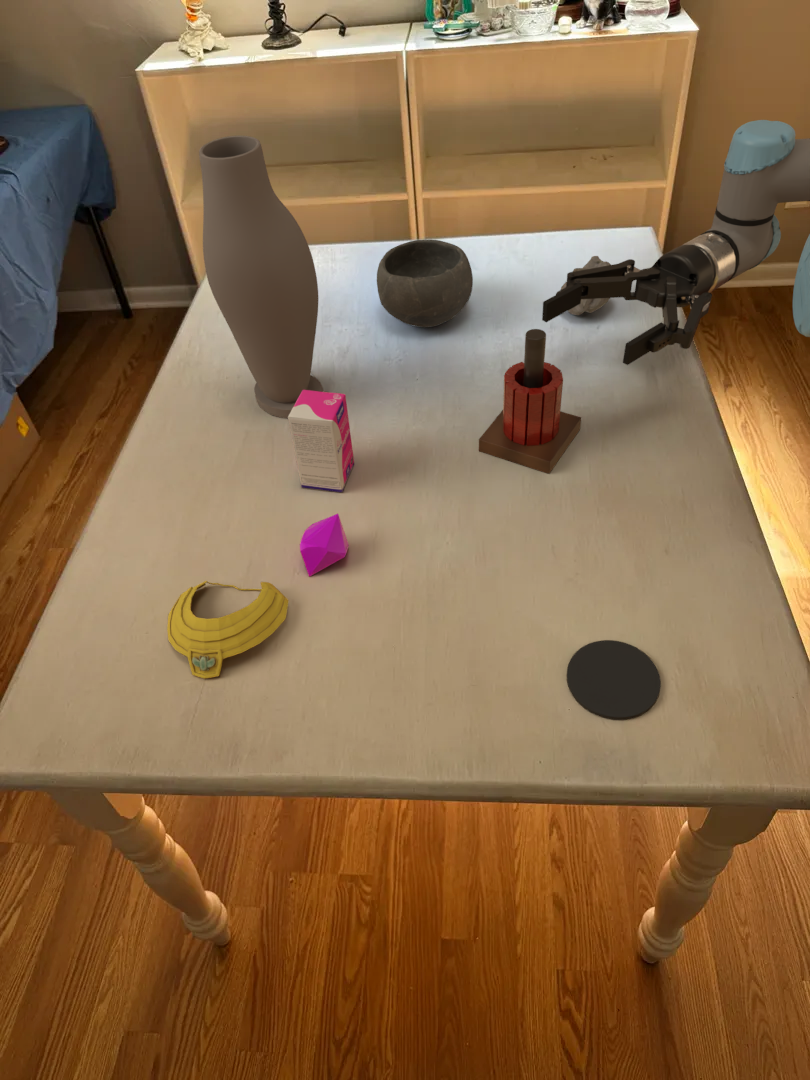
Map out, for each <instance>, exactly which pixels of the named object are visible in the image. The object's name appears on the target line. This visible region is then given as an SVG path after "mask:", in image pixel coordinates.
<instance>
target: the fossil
mask: <svg viewBox="0 0 810 1080" xmlns="http://www.w3.org/2000/svg"><path fill="white" fill-rule="evenodd" d="M608 265H612V264H611V263H610V262H609V261H606V260H605V261H603V260H602V259H601V258H600V257H599V255H593V256H591V258H590V259H589V260H588V261H587V263H585V264H584V265H583V267H575V268H574V269H573V270H572V272H575V271H580V270H586V269H591V268H597V267H603V266H608ZM566 283H567V281H565V282H564V283H563V285H562V286H561V287H560V290H562V289H564V288H566ZM610 299H611V298H598V299H581V304H579V305H577V306H575V307H574V308H572V309H570V310H568V311H567V312H568V313H569V314H571V315H574V316H580V315H582V314H584V312H586V313H589V314H592V313H593V312H595V311H597V310H600V309H601V308H602V307H603V306H605V305H606V304H607V303H608V302H609V300H610Z"/></svg>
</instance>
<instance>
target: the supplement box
mask: <svg viewBox="0 0 810 1080" xmlns="http://www.w3.org/2000/svg"><path fill="white" fill-rule="evenodd" d="M349 420H350V419H349V411H348V405H347V395H346V394H345V393H339V392H329V391H328V392H327V391H323V392H319V391H310V390H302V392H301V394H300V395H299V397H298V399H297V401H296V403H295V405H294V407H293V408H292V410H291V412H290V414H289V416H288V418H287V421H288V426H289V431H290V435H291V441H292V446H293V451H294V456H295V460H296V466H297V471H298V476H299V483H300V488H301V489H307V490H314V491H326V492H331V493H333V492H334V493H343V492H344V489H345V487H346V484H347V481H348V479H349V477H350V474H351V472H352V470H353V468H354V466H355V457H354V451H353V443H352V436H351V434H352V433H351V428H350V427H351V426H350V421H349Z"/></svg>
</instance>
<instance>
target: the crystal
mask: <svg viewBox="0 0 810 1080" xmlns="http://www.w3.org/2000/svg"><path fill="white" fill-rule="evenodd" d="M349 546H350V544H349V541H348V538H347V535H346V531H345V529H344V526H343V524H342V520H341V518H340V515H339V513H336V514H332V515H331V516H328V517H325V518H323V519H320V520H319V521H316V522H314V523H312V524H310V525H309V526H307V528H306V529H304V532H303V533H302V536H301V538H300V543H299V551H300V555H301V558H302V560H303V563H304V566H305V569H306V572H307V574H308V577H310V578H311V576H313V575H315V574H317V573H319V572H320V571H322V570H324V569H326V568H328V567H330V566H331V565H333V564H335V563H337V562H338V561H340V560H342V559H344V558H345V557H346V555H347V552H348V550H349Z"/></svg>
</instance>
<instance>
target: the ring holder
mask: <svg viewBox="0 0 810 1080" xmlns="http://www.w3.org/2000/svg"><path fill="white" fill-rule="evenodd" d="M524 336H525V339H524V360H523V363H524V378H523V386H524V387H527V388H541V387H543V374H544V362H545V357H546V343H547V333H546V331H545V330H543V329H541V328H533V329H532V328H531V329H529V330H527V331H526V332H525V335H524ZM581 425H582V417H581V416H578V415H575V414H572V413H567V412H564V411H561V410H560V421H559V431H558V433H557V434H556V436H555V437H554V439H552V440H551V441H549V442H547V443H544V444H542V445H541V444H540V443H539V445H535V446H527V445H526V444H525V445H521V444H518V443H515V442H513V440H512V441H511V440H510V439H509V438H508V437H507V436H505V434H504V432H503V409H502V410H501V411H500V412H499V414H498V415H497V416H496V417H495V418H494V420H493V421H492V423H490V425H489V426H488V427H487V429H486V430H485V431H484V432H483V434H482V435H481V436H480V437H479V438H478V451H479V452H481V453H483V454H487V455H490V456H493V457H496V458H499V459H502V460H505V461H508V462H512V463H513V464H518V465H520V466H524V467H527V468H530V469H533V470H536V471H540V472H542V473H545V474H548V475H549V474H551V472H552V471H553V470H554V468H555V466H556V465H557V463H558V462H559V460H560V459H561V457H562V456H563V454H564V453H565V452H566V450H567V449H568V447H569V446H570V445H571V443H572V442H573V440H574V439H575V437H576V436H577V434H579V432H580V430H581Z"/></svg>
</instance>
